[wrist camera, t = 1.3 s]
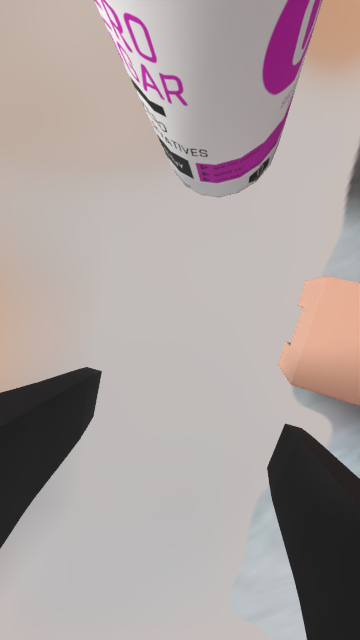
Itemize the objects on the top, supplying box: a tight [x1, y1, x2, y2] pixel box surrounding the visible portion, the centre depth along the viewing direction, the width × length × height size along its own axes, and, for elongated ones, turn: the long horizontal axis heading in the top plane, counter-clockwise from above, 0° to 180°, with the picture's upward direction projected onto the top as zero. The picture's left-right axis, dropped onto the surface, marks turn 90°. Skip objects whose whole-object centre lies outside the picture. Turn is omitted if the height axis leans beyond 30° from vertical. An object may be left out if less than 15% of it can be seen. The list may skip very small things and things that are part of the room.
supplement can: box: [94, 0, 322, 197], centre depth 12 cm, size 8×8×15 cm
